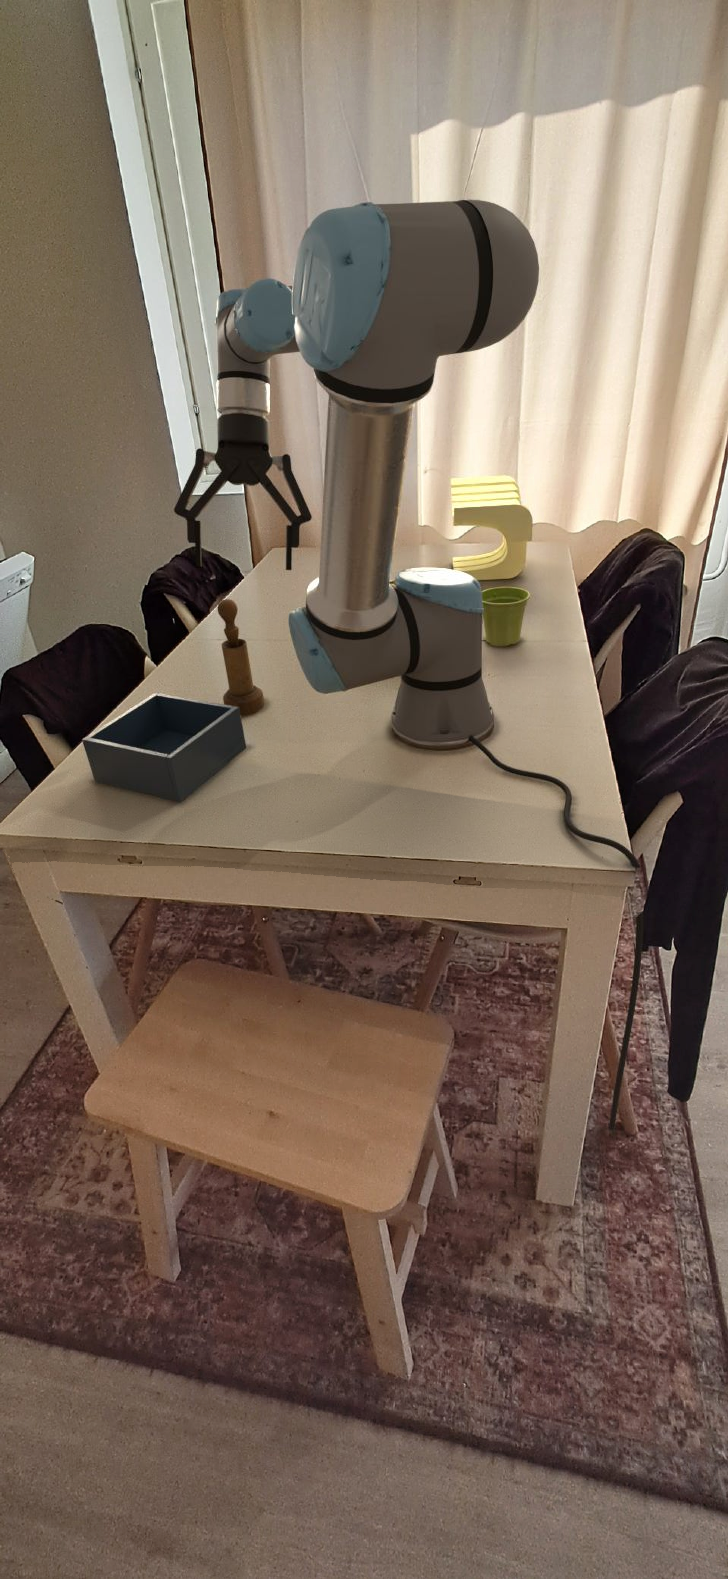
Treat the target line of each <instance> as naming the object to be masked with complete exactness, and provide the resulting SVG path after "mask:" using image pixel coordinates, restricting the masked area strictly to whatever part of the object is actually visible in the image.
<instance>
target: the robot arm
mask: <svg viewBox="0 0 728 1579" xmlns="http://www.w3.org/2000/svg"><path fill="white" fill-rule="evenodd" d="M536 247H537V246H536V243H535V241H534V239H533V237H532V235H531V233H530V231H529V229H528V228H527V227H526V226H525V224H524V223H523V222H522V221H521V220H520V218H519V217H517V215H515V213H513V212H512V211H511V210H509V209H507V208H505V207H504V206H501V205H499V204H497V203H494V202H491V201H487V200H482V199H471V198H470V199H460V200H452V201H451V200H450V201H449V200H443V201H426V202H425V201H424V202H403V203H402V202H401V203H373V202H372V201H367V202H361V203H358V204H355V205H352V206H345V207H338V208H337V207H336V208H330V209H327V210H324V211H323V212H321V213H320V214H318V215H317V216H316V217H315V218H314V219H313V220H312V221H311V223H310V225H309V226H308V227H307V228H306V230H305V231H304V234H303V236H302V238H301V241H300V244H299V246H298V249H297V254H296V258H295V262H294V268H293V275H292V276H293V277H292V284H291V285H287V284H285V283H283V282H281V281H280V280H278V279H275V278H270V277H269V278H267V277H266V278H262V279H261V278H260V279H259V280H256V281H255V282H253V283H251V285H249V287H246V288H244V289H243V288H233V289H228V290H225V291H223V292H221V293H220V294H219V295H218V297H217V299H216V316H215V317H214V318H215V319H214V325H215V328H216V330H215V331H216V376H217V377H216V380H217V381H216V411H217V412H218V413H219V414H221V415H219V416H218V418H217V419H216V420H217V422H216V423H217V448H216V451H215V452H213V451H207V450H204V449H203V448H197V449H196V451H195V458H194V465H193V467H192V470H191V471H190V473H189V476H188V478H187V480H186V482H185V484H184V487H183V489H182V490H181V493H180V495H179V497H178V499H177V501H176V504H175V506H174V508H173V512H174V513H175V514H176V515H177V516H179V517H181V518H184V519H185V520H186V534H187V535H186V537H187V538H186V539H187V541H188V543H189V544H194V549H195V550H194V554H195V555H194V557H195V561H194V562H195V564H194V565H195V567H203V566H202V564H203V563H202V521H201V520H197V518H198V517H199V516H200V514H201V513H202V512H203V511H204V510H205V508H207V507H208V505H209V504H210V502H211V501H212V500H213V499H214V498H215V497H216V495H217V494H218V493H219V491H221V489H222V488H223V487H224V486H225V485H226V484H227V483H230V484H232V485H233V486H242V485H245V486H249V487H255V486H257V485H259V484H260V485H261V487H262V488H263V489H264V490H265V491H266V492H267V494H268V495H269V497H270V498H271V499H272V500H273V502H274V503H275V504H276V505H277V507H278V508H279V510H280V511H281V512H282V513H283V515H284V516H285V518H286V519H287V521H289V523H290V524H287V525H285V571H292V568H293V566H292V565H293V564H292V561H293V548H294V549H298V548H299V546H300V528H301V525H303V524H306V523H309V522H310V521H312V514H311V513H312V512H311V511H310V509H309V506H308V504H307V502H306V500H305V497H304V495H303V493H302V490H301V489H300V486H299V483H298V481H297V479H296V477H295V474H294V471H293V470H292V460H291V459H292V458H291V455H289V454H288V453H284V454H283V455H275V456H272V455H271V454H272V453H271V451H270V421H269V419H268V418H267V417H268V416H269V415H270V408H271V407H270V406H271V405H270V403H271V402H270V401H271V400H270V399H271V388H270V387H271V386H270V385H271V384H270V383H271V381H270V380H271V379H270V376H271V375H270V374H271V358H272V357H274V356H275V355H276V356H277V355H285V354H291V353H300V355H301V356H302V358H303V360H304V361H305V363H306V364H307V365H308V366H310V368H312V369H313V376H314V378H315V380H316V382H317V383H318V385H319V386H320V387H321V388H322V389H323V390H324V391H325V392H326V393H327V410H326V411H327V412H326V433H325V437H326V438H325V453H324V472H323V473H324V475H323V492H322V510H321V512H322V513H321V515H322V516H321V533H320V536H321V537H320V554H319V572H318V573H319V574H318V576H317V577H316V578H314V579H313V581H311V583H310V584H309V585H308V587H307V589H306V594H305V606H304V607H301V606H298V607H296V608H295V609H293V610H291V611H290V612H289V614H288V627H289V633H290V638H291V641H292V644H293V649H294V651H295V654H296V657H297V660H298V662H299V665H300V668H301V671H302V672H303V674H304V677H305V679H306V680H307V682H308V683H309V685H310V686H311V687H312V689H314V691H315V692H317V693H319V694H323V695H327V694H332V693H333V694H334V693H339V692H343V693H344V692H347V691H348V690H353V689H356V688H360V687H363V686H367V685H371V684H375V683H379V682H382V681H383V682H384V681H386V680H390V679H395V678H398V677H400V683H399V687H398V690H397V694H396V697H395V703H394V707H393V709H392V711H391V717H390V725H391V727H390V728H391V733H392V735H393V736H394V737H395V739H396V740H398V741H399V742H400V743H402V744H404V745H406V746H408V747H410V748H414V749H418V750H423V751H431V752H433V751H434V752H448V751H458V750H463V749H467V748H469V747H473V746H475V747H477V748H478V749H479V750H480V752H482V753H483V754H484V755H485V756H486V757H487V758H488V759H489V760H490V761H491V763H492V764H494V765H495V766H496V767H498V768H499V769H501V770H503V771H505V772H508V773H510V774H512V775H516V776H521V777H526V778H531V779H538V780H543V781H546V782H549V783H551V784H554V785H556V786H557V787H559V788H560V789H561V790H562V791H563V793H564V795H565V801H564V806H563V813H562V814H563V815H562V817H563V821H564V824H565V826H566V827H567V828H568V830H569V831H570V832H571V833H573V834H574V835H575V836H577V837H579V838H581V839H583V840H587V841H590V842H594V843H597V844H602V845H604V846H608V847H611V848H613V849H616V850H617V851H618V852H620V853H621V854H623V855H624V856H625V857H626V858H627V859H628V861H629V862H630V864H631V866H632V867H634V868H636V869H639V868H641V865H640V863H639V861H638V860H637V857H636V856H635V855H634V854H633V853H632V851H630V850H629V849H628V848H627V847H626V846H624V845H623V844H621V843H619V842H618V841H615V840H613V839H610V838H607V837H603V836H599V835H597V834H596V835H595V834H592V833H587V832H585V831H583V830H581V829H578V827H577V826H575V824H574V823H573V822H572V820H571V815H570V813H571V807H572V803H573V801H572V800H573V797H572V796H573V794H572V792H571V789H570V788H569V786H567V784H565V782H563V781H562V780H560V779H558V778H556V777H554V776H551V775H548V774H544V773H539V772H533V771H528V770H523V769H518V768H515V767H512V766H509V765H506V764H505V763H503V762H502V761H500V760H499V759H498V758H497V757H496V756H495V755H494V754H493V753H492V752H491V751H490V750H489V749H488V748H487V747H486V746H485V745H484V744H483V743H482V742H484V741H485V740H486V739H487V738H489V737H490V735H491V734H492V733H493V731H494V730H495V729H494V728H495V715H494V714H495V713H494V709H493V706H492V704H491V703H490V702H489V698H488V694H487V690H486V686H485V683H484V681H483V680H484V679H483V615H482V613H483V612H484V609H483V602H482V591H483V590H482V585H481V583H480V582H479V580H476V579H475V578H474V577H472V576H471V575H469V574H466V573H464V572H460V571H456V570H453V569H451V568H444V567H428V566H427V567H425V566H424V567H411V568H405V569H403V570H401V571H398V572H397V573H396V575H395V578H394V580H393V586H394V587H393V586H392V585H391V584H390V580H391V574H392V573H391V572H392V566H393V560H394V552H395V544H396V539H397V532H398V524H399V516H400V509H401V501H402V495H403V489H404V488H403V487H404V481H405V474H406V468H407V460H408V453H409V446H410V438H411V431H412V425H413V419H414V418H413V417H414V410H415V404H417V403H418V402H420V401H421V400H422V399H424V398H425V397H426V396H428V394H429V393H430V392H431V391H432V389H433V385H434V383H435V382H434V381H435V374H436V367H437V362H438V359H439V358H440V357H443V356H449V355H455V354H464V353H469V352H475V351H479V350H482V349H485V348H489V347H492V346H493V345H495V344H497V343H500V342H501V341H503V340H504V339H506V338H507V337H509V336H510V335H511V334H512V333H513V332H514V331H516V329H518V327H519V326H520V325H521V324H522V322H523V321H524V320H525V319H526V318H527V316H528V313H529V312H530V310H531V308H532V306H533V304H534V301H535V298H536V296H537V291H538V287H539V282H540V263H539V254H538V251H537V248H536ZM212 462H214V463H215V464H216V466H217V468H219V469H220V472H219V473H218V475H216V477H215V478H214V480H213V481H212V482H211V484H209V486H208V487H207V488H206V490H205V491H204V492H203V493H202V495H201V496H200V497H199V498H198V500H196V501H195V503H194V504H193V506H191V508H190V509H187V507H188V504H189V503H190V501H191V498H192V496H193V494H194V492H195V489H196V488H197V486H198V484H199V481H200V479H201V477H202V475H203V473H204V470H205V468H208V467H209V466H211V463H212ZM273 465H274V466H275V467H276V469H277V471H279V472H280V473H281V472H282V474H283V479H284V480H285V482H286V485H287V487H288V489H289V491H290V494H291V496H292V498H293V500H294V502H295V505H296V507H297V509H298V512H299V513H300V515H297V513H295V511H294V510H293V508H292V507H291V506H290V504H289V503H288V502H287V500H286V499H285V497H283V495H282V494H281V492H280V491H279V490H278V489H277V487H276V486H275V485H274V483H273V482H272V480H271V479H270V478H269V476H268V475H267V473H268V472H269V470H270V469H271V468H272V466H273ZM643 934H644V911H641V912H640V913H639V914H638V915H637V916H636V917H635V947H634V961H633V970H632V978H631V979H632V980H631V988H630V996H629V1002H628V1008H627V1014H626V1021H625V1025H624V1026H625V1028H624V1033H623V1038H622V1043H621V1050H620V1055H619V1061H618V1067H617V1072H616V1077H615V1084H614V1090H613V1095H612V1096H613V1097H612V1103H611V1109H610V1116H609V1122H608V1128H609V1130H611V1131H613V1130H615V1127H616V1121H617V1113H618V1106H619V1101H620V1100H619V1099H620V1095H621V1089H622V1088H621V1087H622V1082H623V1077H624V1072H625V1067H626V1060H627V1055H628V1050H629V1046H630V1045H629V1044H630V1040H631V1034H632V1028H633V1022H634V1017H635V1010H636V1005H637V998H638V991H639V983H640V975H641V966H642V954H643V937H644V936H643Z"/></svg>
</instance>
